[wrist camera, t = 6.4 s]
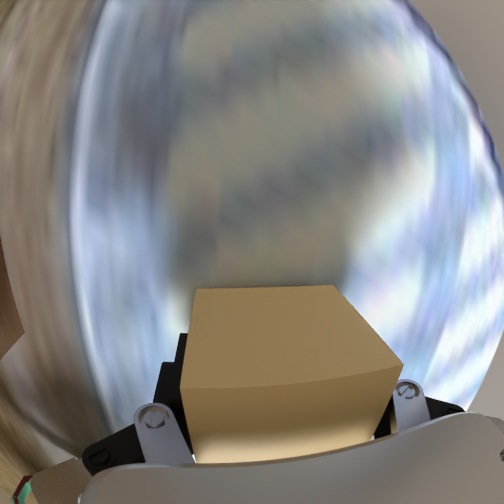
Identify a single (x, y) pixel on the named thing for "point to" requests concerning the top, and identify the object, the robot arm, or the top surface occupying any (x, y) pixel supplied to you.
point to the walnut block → (7, 312)
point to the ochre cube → (281, 373)
